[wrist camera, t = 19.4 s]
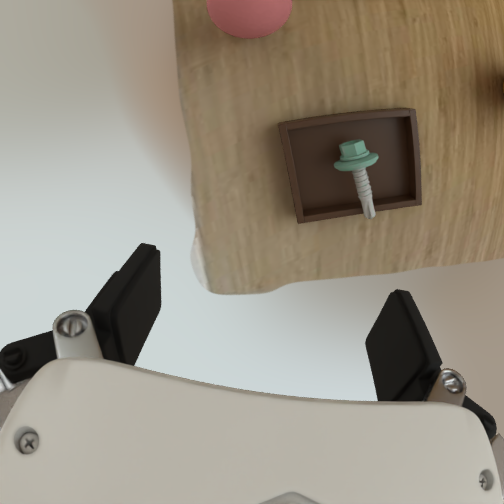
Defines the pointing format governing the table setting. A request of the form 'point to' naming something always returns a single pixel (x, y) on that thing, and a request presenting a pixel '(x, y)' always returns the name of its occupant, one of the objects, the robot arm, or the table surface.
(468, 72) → the table surface
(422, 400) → the robot arm
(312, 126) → the tray
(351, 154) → the screw
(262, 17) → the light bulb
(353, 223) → the table surface
